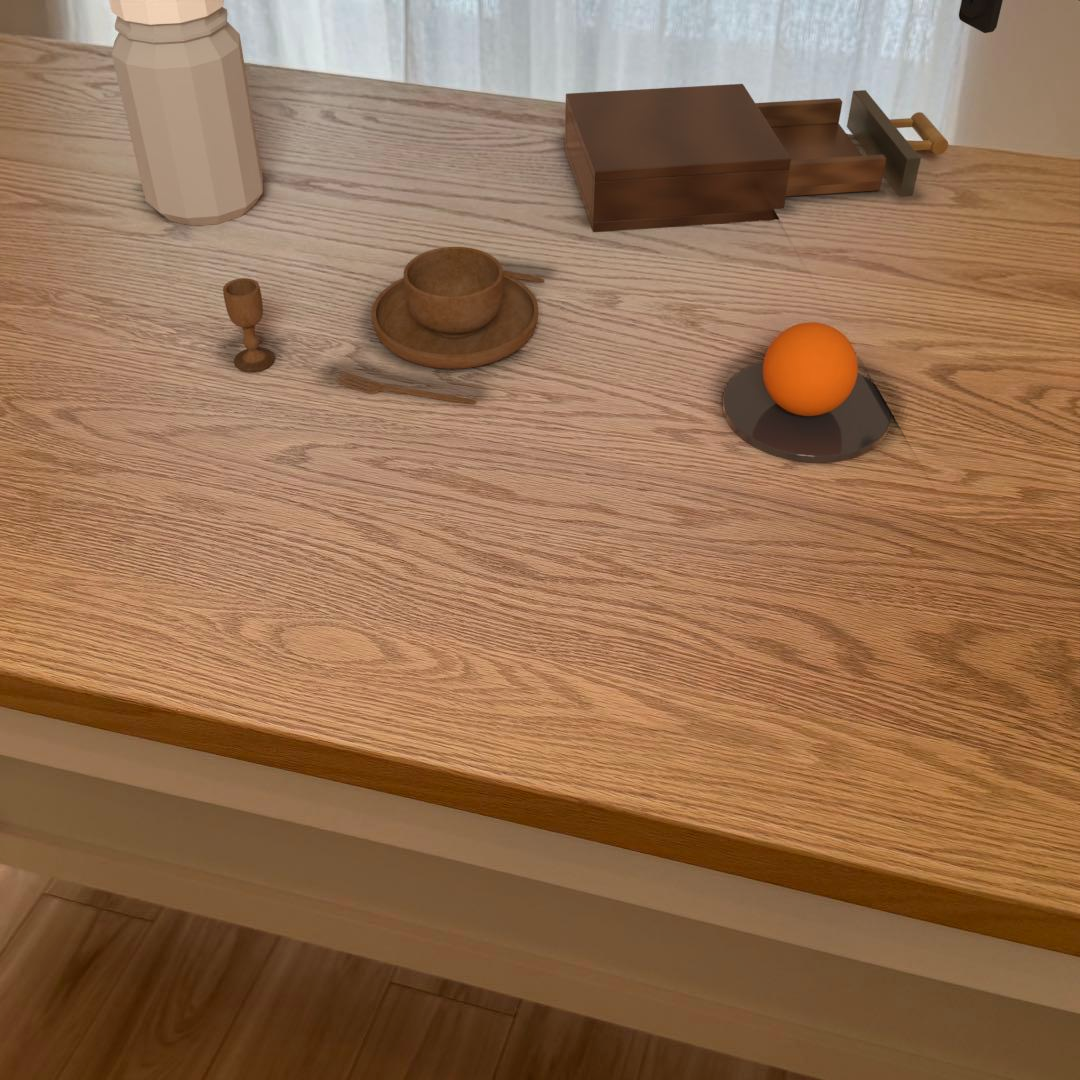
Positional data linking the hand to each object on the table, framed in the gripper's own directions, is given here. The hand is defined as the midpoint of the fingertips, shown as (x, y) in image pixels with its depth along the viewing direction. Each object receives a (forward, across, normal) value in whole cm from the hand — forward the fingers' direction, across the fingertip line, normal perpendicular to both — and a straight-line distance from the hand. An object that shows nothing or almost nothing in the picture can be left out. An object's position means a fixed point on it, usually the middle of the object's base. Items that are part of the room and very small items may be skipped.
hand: (1034, 14), depth 85 cm
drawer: (+18, -3, +17) cm, 24 cm away
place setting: (+18, -44, +8) cm, 49 cm away
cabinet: (+18, -16, +20) cm, 32 cm away
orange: (+18, -23, -12) cm, 32 cm away
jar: (+18, -53, +33) cm, 65 cm away
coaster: (+18, -23, -12) cm, 32 cm away
